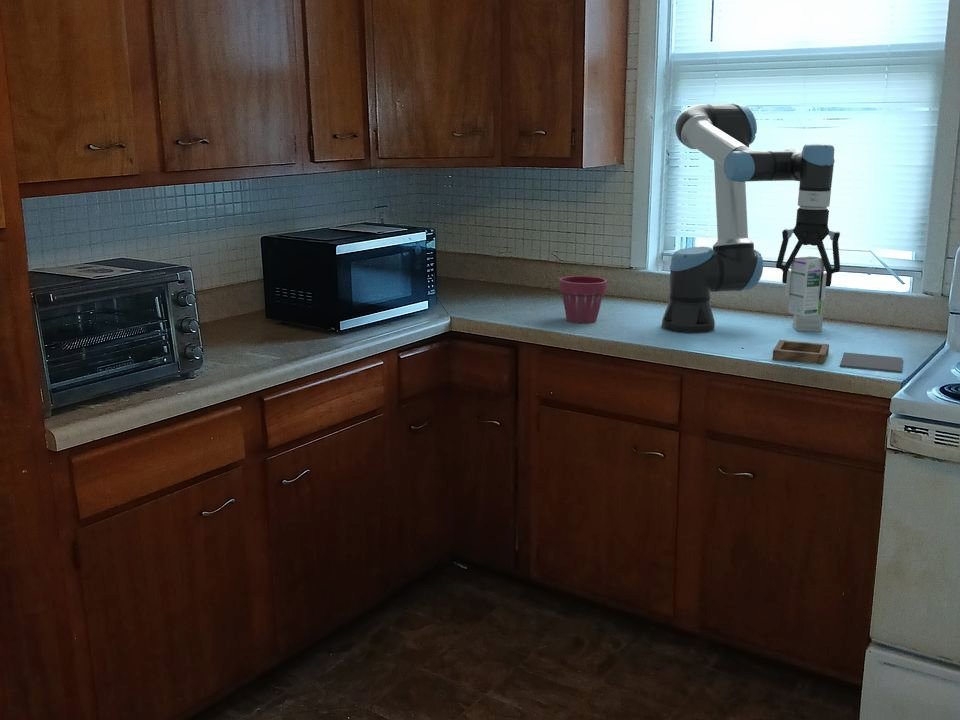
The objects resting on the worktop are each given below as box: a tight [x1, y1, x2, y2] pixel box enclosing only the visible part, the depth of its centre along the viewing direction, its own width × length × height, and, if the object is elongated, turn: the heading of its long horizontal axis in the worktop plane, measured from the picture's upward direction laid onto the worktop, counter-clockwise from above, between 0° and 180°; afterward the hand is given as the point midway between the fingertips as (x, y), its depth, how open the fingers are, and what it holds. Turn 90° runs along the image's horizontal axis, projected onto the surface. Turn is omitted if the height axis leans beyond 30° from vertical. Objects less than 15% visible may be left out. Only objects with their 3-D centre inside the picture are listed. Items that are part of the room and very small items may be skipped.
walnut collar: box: [772, 339, 830, 365], centre depth 243 cm, size 12×12×2 cm
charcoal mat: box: [839, 351, 903, 374], centre depth 237 cm, size 14×14×1 cm
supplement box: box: [792, 299, 825, 333], centre depth 274 cm, size 7×7×13 cm
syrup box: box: [787, 255, 825, 317], centre depth 239 cm, size 6×6×14 cm
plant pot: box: [558, 275, 608, 324], centre depth 286 cm, size 14×14×13 cm
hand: (805, 297), depth 240 cm, fingers closed on syrup box, 8 cm apart
